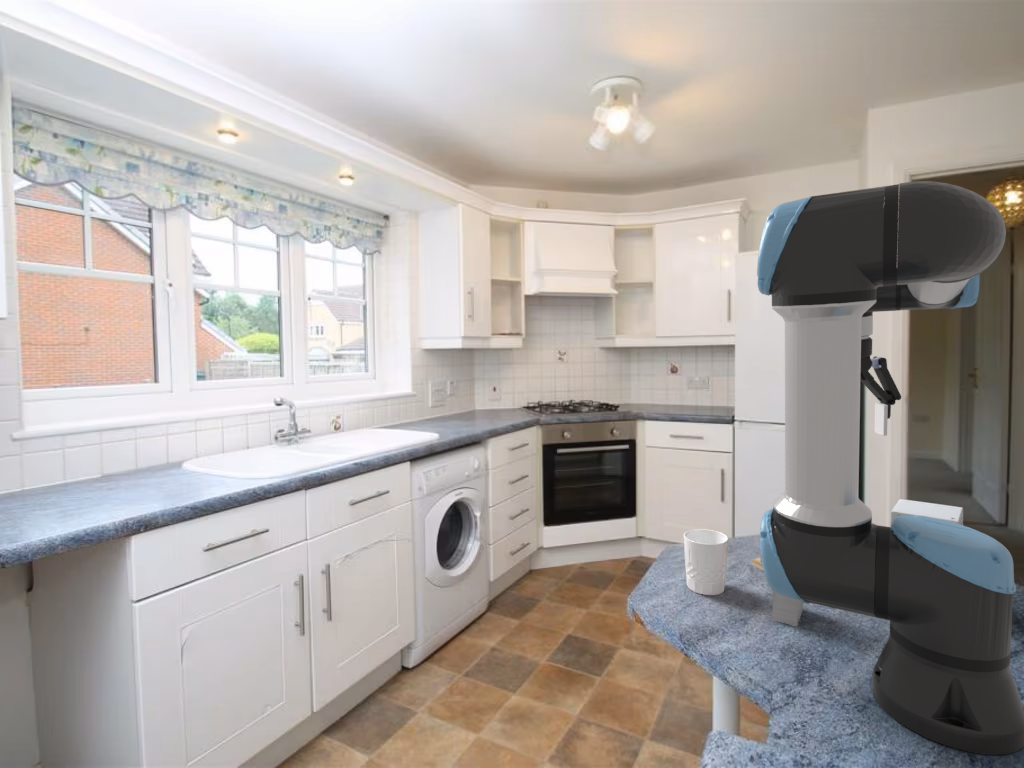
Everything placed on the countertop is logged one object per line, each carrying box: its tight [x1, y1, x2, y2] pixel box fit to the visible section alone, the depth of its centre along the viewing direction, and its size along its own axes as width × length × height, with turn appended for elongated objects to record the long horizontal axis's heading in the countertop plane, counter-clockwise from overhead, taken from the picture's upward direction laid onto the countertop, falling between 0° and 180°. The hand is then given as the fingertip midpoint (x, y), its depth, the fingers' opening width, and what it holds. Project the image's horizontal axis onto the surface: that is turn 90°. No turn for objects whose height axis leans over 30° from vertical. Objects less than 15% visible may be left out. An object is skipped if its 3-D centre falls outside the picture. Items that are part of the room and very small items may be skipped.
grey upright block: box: [771, 589, 804, 627], centre depth 91 cm, size 4×7×10 cm, turn 145°
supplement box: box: [889, 498, 964, 527], centre depth 93 cm, size 10×9×17 cm
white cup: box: [683, 528, 729, 596], centre depth 102 cm, size 8×8×10 cm
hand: (849, 437), depth 113 cm, fingers open, 13 cm apart
